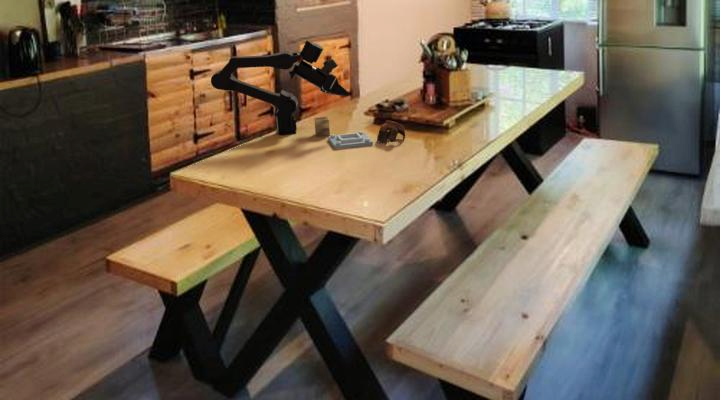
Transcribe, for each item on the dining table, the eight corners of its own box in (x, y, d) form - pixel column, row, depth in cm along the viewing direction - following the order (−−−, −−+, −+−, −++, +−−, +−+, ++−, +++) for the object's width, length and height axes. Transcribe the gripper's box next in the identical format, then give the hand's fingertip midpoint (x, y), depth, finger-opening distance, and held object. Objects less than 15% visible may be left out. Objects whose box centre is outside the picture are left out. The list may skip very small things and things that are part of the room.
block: (317, 137, 271) (316, 120, 269) (315, 134, 275) (314, 118, 273) (329, 135, 271) (328, 119, 269) (327, 132, 276) (326, 116, 274)
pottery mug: (372, 141, 264) (380, 119, 264) (396, 150, 266) (404, 128, 266) (380, 140, 252) (388, 117, 252) (405, 150, 254) (414, 127, 254)
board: (335, 149, 254) (335, 143, 253) (328, 140, 266) (327, 133, 265) (372, 145, 256) (372, 138, 256) (363, 136, 268) (363, 130, 268)
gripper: (322, 52, 262) (361, 74, 265) (319, 55, 280) (355, 76, 283) (307, 80, 262) (346, 102, 265) (304, 82, 281) (341, 102, 283)
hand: (347, 95), depth 274 cm, fingers open, 9 cm apart
